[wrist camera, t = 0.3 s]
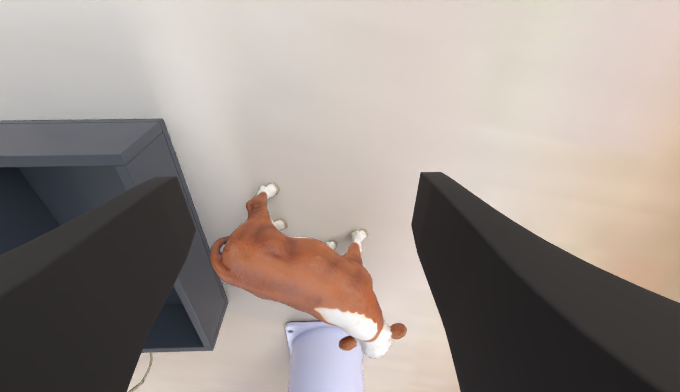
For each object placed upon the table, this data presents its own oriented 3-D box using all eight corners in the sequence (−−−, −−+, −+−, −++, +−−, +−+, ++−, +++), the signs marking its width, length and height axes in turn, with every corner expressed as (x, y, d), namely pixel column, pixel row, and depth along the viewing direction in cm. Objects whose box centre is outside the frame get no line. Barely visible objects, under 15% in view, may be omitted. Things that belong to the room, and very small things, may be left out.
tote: (228, 302, 28) (213, 350, 24) (116, 305, 28) (84, 354, 24) (163, 118, 18) (120, 154, 14) (-16, 120, 17) (-108, 157, 14)
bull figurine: (367, 278, 27) (379, 377, 20) (226, 203, 21) (180, 304, 15) (403, 250, 25) (430, 350, 18) (258, 160, 20) (221, 254, 13)
